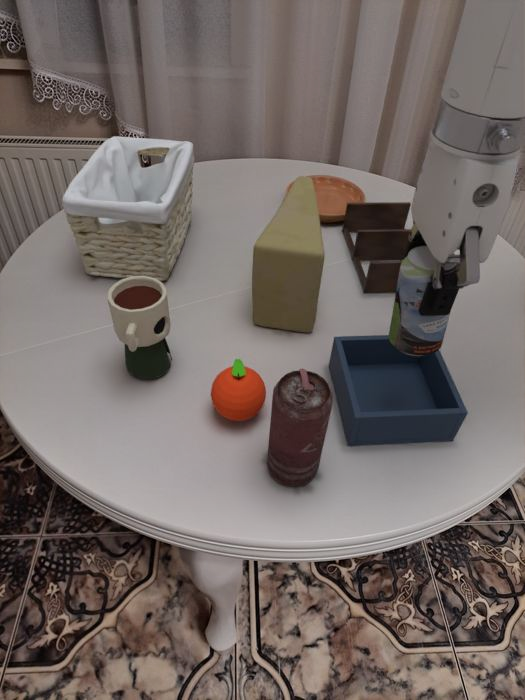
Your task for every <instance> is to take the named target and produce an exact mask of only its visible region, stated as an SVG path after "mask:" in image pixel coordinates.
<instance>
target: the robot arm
mask: <svg viewBox="0 0 525 700" xmlns="http://www.w3.org/2000/svg"><path fill="white" fill-rule="evenodd" d="M429 132H430V133H429V139H430V144H429V146H428V149H427V152H426V155H425V157H424V160H423V163H422V166H421V169H420V172H419V175H418V179H417V183H416V185H415V190H414V192H413V197H412V201H411V202H412V203H411V207H410V211H411V217H412V226H411V228H410V229H411V230H410V232H409V241H413V242H412V243H408V245H407V248H406V252H405V256H404V259H405V258H406V257H407V256H408V253H409V252H410V251H411V250H412V249H414V248H416V247H420V246H428V248H429V250H430V251H431V253H432V255H433V256H434V257H435V258H436V260H435V268H434V275H433V282H428V284H427V287H426V290H425V293H424V296H423V299H422V301H421V304H420V307H419V313H420V315H421V316H439V315H448V314H449V313H450V314H451V312H450V311H452V309H453V306H454V303H455V301H456V298H457V296H458V293H459V292H460V289H463V288H464V287H468V286H471V285H474V284H478V283H480V279H481V264H484V263H486V261H487V260H488V259H489V256H490V254H491V252H492V250H493V247H494V245H495V242H496V240H497V237H498V234H499V232H500V229H501V226H502V223H503V220H504V218H505V214H506V211H507V208H508V204H509V202H510V198H511V195H512V191H513V187H514V183H515V179H516V174H517V169H518V164H519V160H518V158H517V156H518V155H519V153H520V151H521V149H522V147H523V145H524V142H525V0H466V1H465V3H464V8H463V11H462V16H461V19H460V22H459V26H458V29H457V34H456V37H455V40H454V45H453V48H452V52H451V55H450V60H449V63H448V67H447V70H446V74H445V78H444V82H443V85H442V89H441V91H440V96H439V99H438V103H437V106H436V110H435V114H434V118H433V121H432V125H431V129H430V131H429ZM458 250H459V254H455V252H456V251H458ZM453 253H454V254H455V255H452V254H453ZM449 254H450V255H449ZM404 259H403V260H404ZM403 260H402V261H403ZM445 263H457V267H456V273H450V274H447V275H444V272H445V265H446V264H445Z"/></svg>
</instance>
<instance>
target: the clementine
mask: <svg viewBox="0 0 525 700" xmlns="http://www.w3.org/2000/svg"><path fill="white" fill-rule="evenodd" d="M262 378H263V377H261V376H260V374H259V373H258V372H257V371H256V370H255V369H252V368H250V367H248V366H245V365H244V363H243V361H242V360H241V358H235V359H234V361H233V364H232V366H229V367H227V368H224V369H223V370H222V371H220V372H219V373H218V374H217V375H216V377H215V378H214V380H213V382H212V384H211V389H210V397H211V399H210V400H211V403H212V405H213V407H214V409H215V410H216V411H217V412H218V414H219V415H220V416H222V417H224V418H225V419H227V420H230V421H233V422H235V421H236V422H241V421H247V420H250V419H252V418H253V417H255V416H256V415H257V414H258V413H259V412H260V411H261V410H262V408H263V407H264V404H265V402H266V397H267V388H266V385H265V382H264V380H263V379H262Z"/></svg>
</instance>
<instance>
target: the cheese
mask: <svg viewBox="0 0 525 700" xmlns="http://www.w3.org/2000/svg"><path fill="white" fill-rule="evenodd" d="M294 181H295V182H294V183H293V185H292V187H291V188H290V190H289V192H288V194H287V196H286V195H285V197H284V199H283V200H282V203H281V204H280V206H279V208H278V209H277V210H276V212H275V214H274V215H273V217H272V218H271V219H270V221H269V222H268V224H267V225H266V226H265V228H264V230H263V231H262V232H261V233H260V235H259V236H258V238H257V240H256V241H255V243H254V245H253V251H252V252H253V253H252V269H251V273H252V274H251V300H252V301H251V303H252V323H254V325H257V326H261V327H265V328H271V329H278V330H286V331H290V332H291V331H292V332H298V333H311V332H312V331H313V330H314V328H315V324H316V318H317V313H318V303H319V296H320V289H321V284H322V279H323V278H322V277H323V271H324V264H325V257H326V255H325V254H326V253H325V246H324V240H323V234H322V233H323V232H322V226H321V222H320V218H319V210H318V203H317V198H316V193H315V189H314V184H313V180H312V178H311V177H305V176H303V175H299V176H298V177H297V178H296V179H295V180H294Z"/></svg>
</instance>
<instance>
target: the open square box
mask: <svg viewBox="0 0 525 700" xmlns="http://www.w3.org/2000/svg"><path fill="white" fill-rule="evenodd" d="M328 368H329V373H330V378H331V382H332V386H333V391H334V394H335V400H336V403H337V407H338V411H339V415H340V416H339V417H340V420H341V424H342V428H343V432H344V438H345V441H346V445H347V447H355V446H356V447H357V446H374V445H376V446H377V445H397V444H398V445H399V444H419V443H421V444H422V443H441V442H442V443H443V442H454V441H455V439H456V437H457V434H458V433H459V431H460V429H461V428H462V425H463V423H464V422H465V419H466V418H467V416H468V414H469V411H468V410H467V408H466V405H465V403H464V401H463V398H462V397H461V394H460V392H459V390H458V388H457V386H456V383H455V381H454V379H453V376H452V375H451V373H450V371H449V368H448V366H447V364H446V361H445V359H444V357H443V355H442V353H441V351H440V349H439V350H438V351H436V352H435V353H433V354H429V355H424V356H412V355H408V354H405V353H403V352H402V351H400V350H398V349H397V348H395V347H394V346H393V345H392V344H391V342H390V340H389V334H379V335H377V334H375V335H343V336H342V335H341V336H333V342H332V346H331V352H330V357H329V362H328Z"/></svg>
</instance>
